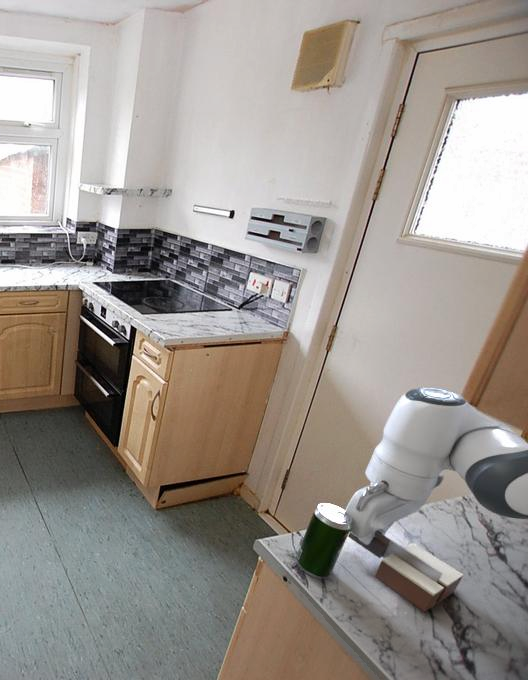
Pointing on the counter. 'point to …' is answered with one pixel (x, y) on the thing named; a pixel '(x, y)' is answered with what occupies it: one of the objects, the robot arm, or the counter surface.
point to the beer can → (323, 540)
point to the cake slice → (409, 582)
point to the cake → (449, 575)
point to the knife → (398, 554)
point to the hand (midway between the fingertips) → (370, 538)
